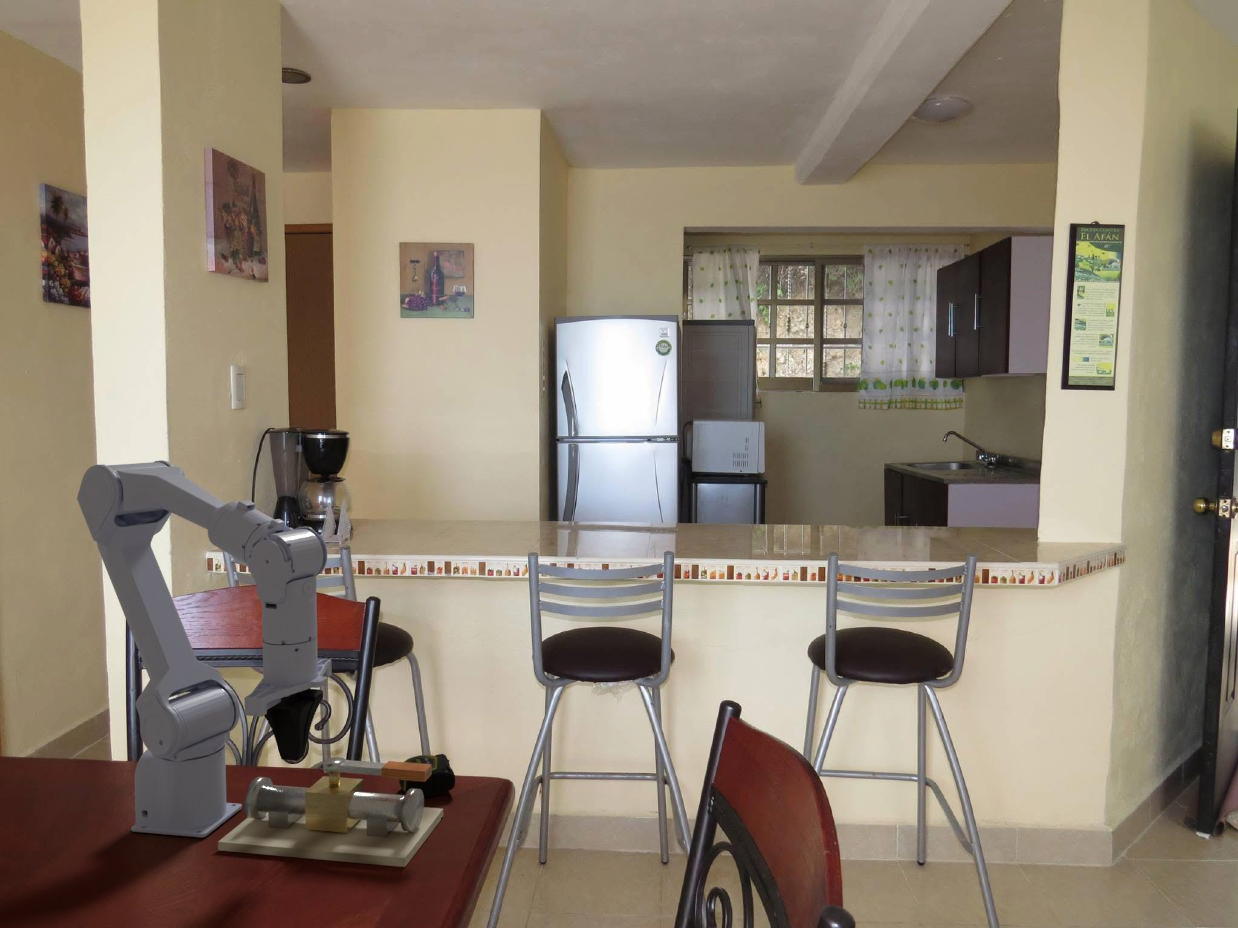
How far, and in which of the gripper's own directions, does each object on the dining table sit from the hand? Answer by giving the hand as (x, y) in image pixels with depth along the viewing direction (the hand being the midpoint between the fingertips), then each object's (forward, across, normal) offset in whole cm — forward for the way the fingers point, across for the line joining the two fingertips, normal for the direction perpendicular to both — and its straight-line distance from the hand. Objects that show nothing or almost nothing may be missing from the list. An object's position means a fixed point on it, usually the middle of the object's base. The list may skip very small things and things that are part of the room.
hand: (292, 757), depth 101 cm
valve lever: (+3, +4, -8) cm, 9 cm away
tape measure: (+11, +18, -9) cm, 23 cm away
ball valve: (+10, +4, -3) cm, 12 cm away
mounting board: (+10, +4, -3) cm, 12 cm away
